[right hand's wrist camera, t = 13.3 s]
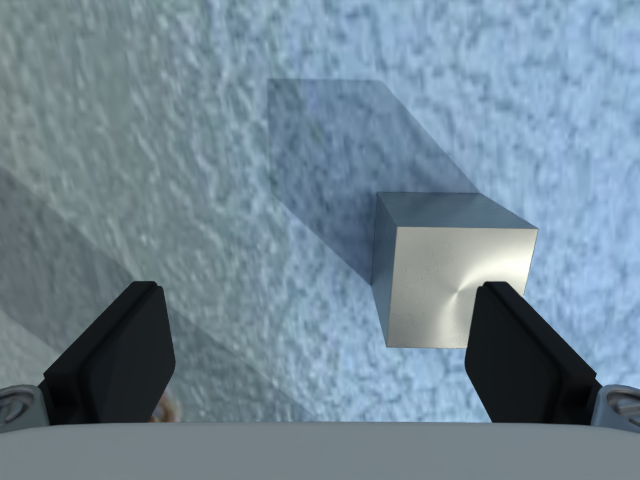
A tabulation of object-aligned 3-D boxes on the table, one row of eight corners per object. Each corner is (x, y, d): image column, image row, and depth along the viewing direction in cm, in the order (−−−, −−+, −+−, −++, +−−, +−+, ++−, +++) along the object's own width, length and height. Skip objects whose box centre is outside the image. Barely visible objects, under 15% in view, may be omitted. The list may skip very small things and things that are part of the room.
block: (371, 286, 28) (386, 347, 21) (377, 191, 25) (396, 226, 18) (466, 288, 28) (511, 350, 21) (481, 193, 25) (539, 228, 18)
